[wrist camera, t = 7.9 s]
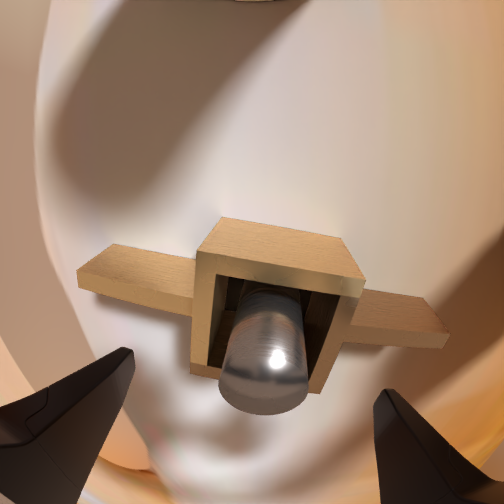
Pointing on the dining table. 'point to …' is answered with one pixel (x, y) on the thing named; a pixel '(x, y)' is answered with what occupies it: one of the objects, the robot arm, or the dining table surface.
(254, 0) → the coffee can
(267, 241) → the wooden box with arms
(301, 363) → the pin
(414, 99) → the dining table surface
